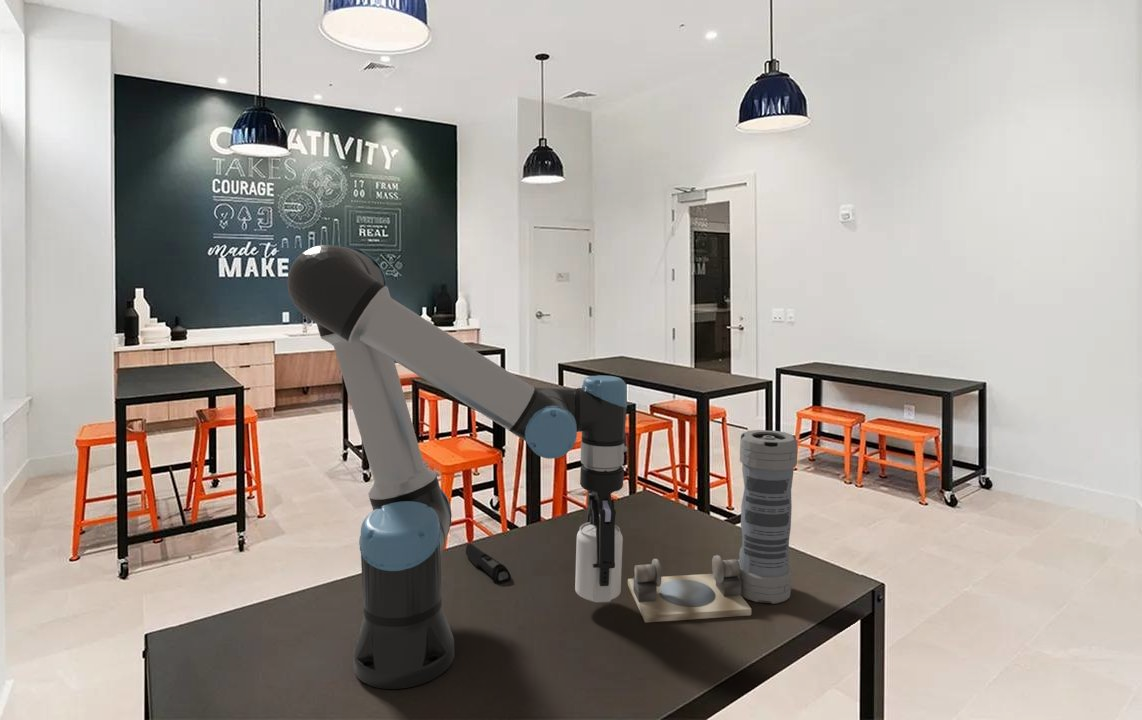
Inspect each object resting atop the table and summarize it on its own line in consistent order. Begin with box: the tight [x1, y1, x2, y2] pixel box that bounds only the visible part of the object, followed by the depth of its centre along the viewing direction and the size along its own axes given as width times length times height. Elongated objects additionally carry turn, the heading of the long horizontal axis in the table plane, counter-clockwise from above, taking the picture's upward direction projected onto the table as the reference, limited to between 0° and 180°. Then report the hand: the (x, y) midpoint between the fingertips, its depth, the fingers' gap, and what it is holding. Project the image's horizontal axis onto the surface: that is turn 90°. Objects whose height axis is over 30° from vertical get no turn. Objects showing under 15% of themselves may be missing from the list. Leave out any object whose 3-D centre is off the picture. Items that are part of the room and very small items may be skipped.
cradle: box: [627, 554, 752, 624], centre depth 122 cm, size 19×14×8 cm
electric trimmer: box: [465, 543, 512, 585], centre depth 135 cm, size 4×16×3 cm, turn 34°
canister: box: [737, 429, 799, 605], centre depth 123 cm, size 10×10×30 cm
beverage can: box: [574, 522, 624, 602], centre depth 118 cm, size 8×8×12 cm
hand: (597, 588), depth 119 cm, fingers closed on beverage can, 8 cm apart
